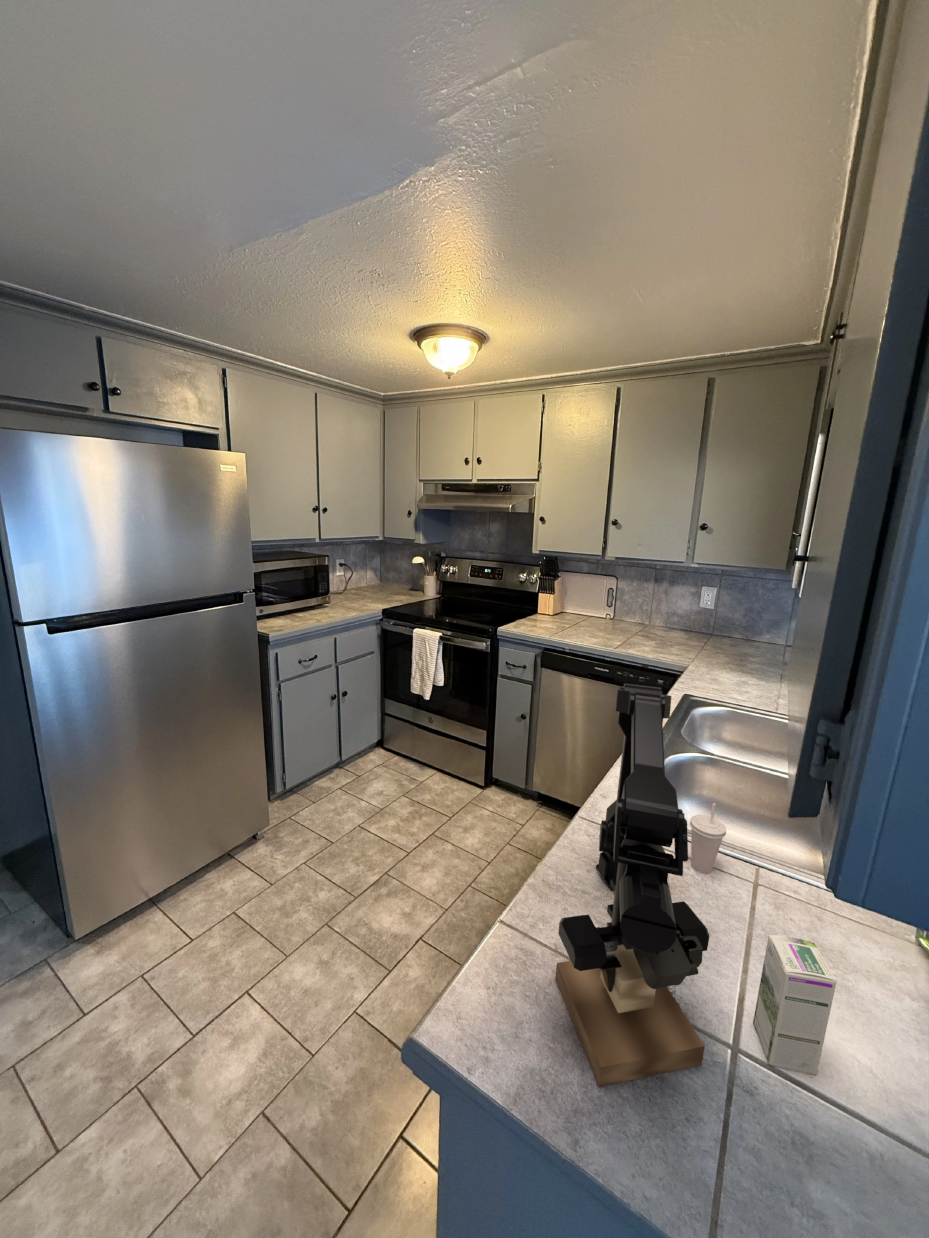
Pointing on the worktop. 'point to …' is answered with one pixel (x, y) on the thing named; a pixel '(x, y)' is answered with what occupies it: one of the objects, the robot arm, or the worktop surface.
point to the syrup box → (793, 1004)
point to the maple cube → (629, 984)
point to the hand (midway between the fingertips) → (626, 985)
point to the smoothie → (705, 841)
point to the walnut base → (627, 1030)
